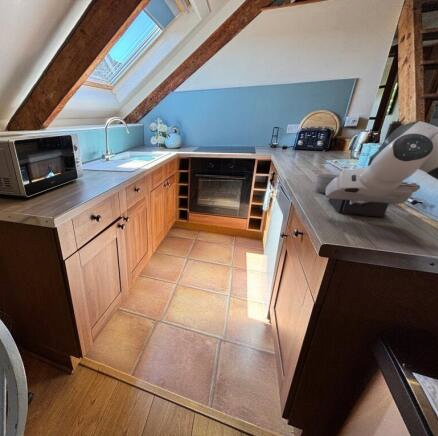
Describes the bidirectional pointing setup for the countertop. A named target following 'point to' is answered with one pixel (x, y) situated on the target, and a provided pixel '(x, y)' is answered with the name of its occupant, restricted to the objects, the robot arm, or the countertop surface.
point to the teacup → (324, 181)
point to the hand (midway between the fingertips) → (354, 203)
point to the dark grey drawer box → (339, 205)
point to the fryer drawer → (366, 208)
